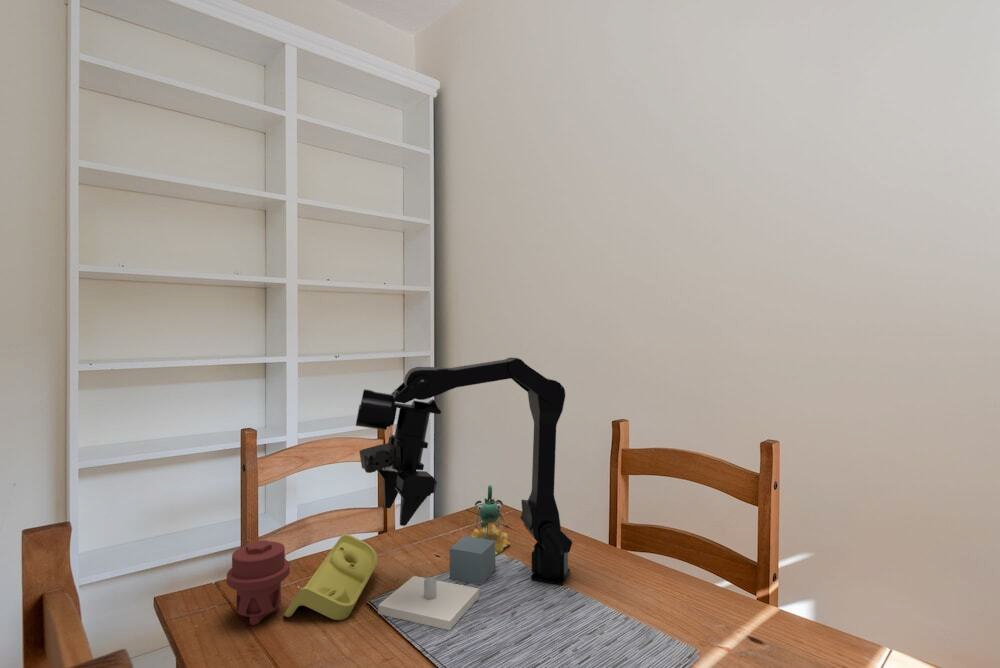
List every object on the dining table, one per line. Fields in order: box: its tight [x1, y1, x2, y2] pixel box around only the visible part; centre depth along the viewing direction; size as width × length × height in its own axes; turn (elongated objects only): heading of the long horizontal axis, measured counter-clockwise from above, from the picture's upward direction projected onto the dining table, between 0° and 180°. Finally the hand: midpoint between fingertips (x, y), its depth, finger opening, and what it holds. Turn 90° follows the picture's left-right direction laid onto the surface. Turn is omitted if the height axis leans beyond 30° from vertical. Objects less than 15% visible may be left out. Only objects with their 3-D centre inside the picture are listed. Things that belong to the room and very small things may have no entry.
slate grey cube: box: [449, 535, 496, 585], centre depth 109 cm, size 7×7×6 cm
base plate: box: [377, 575, 480, 631], centre depth 96 cm, size 14×12×4 cm
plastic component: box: [283, 533, 378, 621], centre depth 101 cm, size 20×8×10 cm
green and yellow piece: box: [469, 484, 511, 556], centre depth 124 cm, size 10×18×15 cm, turn 177°
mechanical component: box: [226, 539, 291, 626], centre depth 93 cm, size 12×10×10 cm
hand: (394, 516), depth 100 cm, fingers open, 9 cm apart
